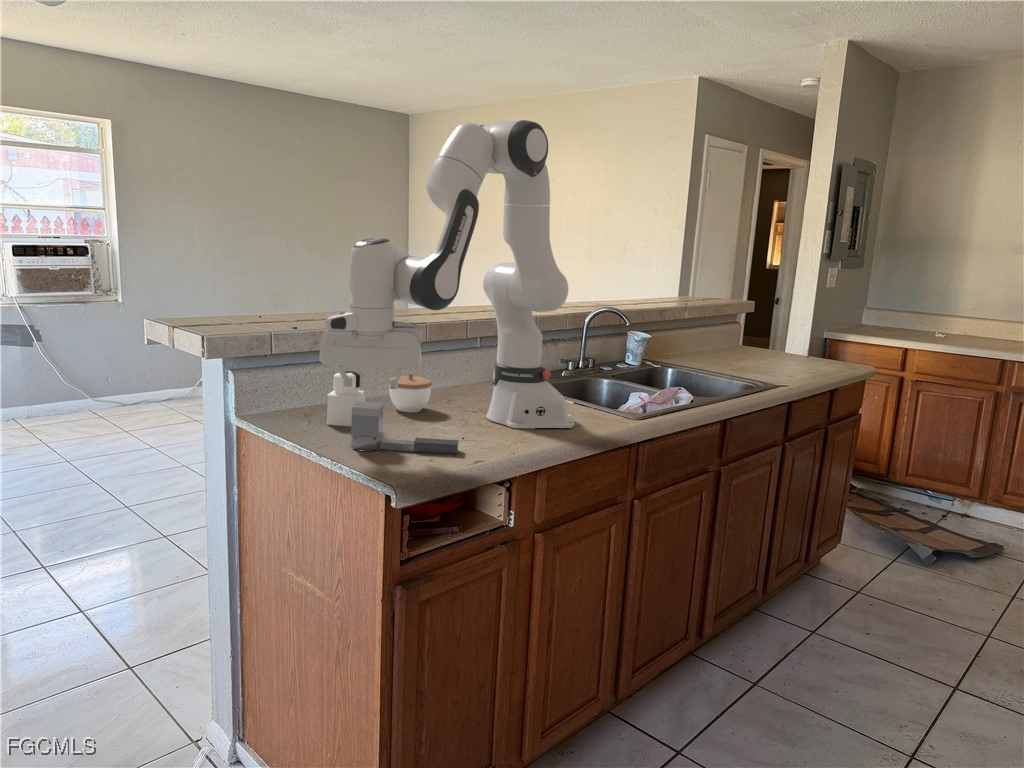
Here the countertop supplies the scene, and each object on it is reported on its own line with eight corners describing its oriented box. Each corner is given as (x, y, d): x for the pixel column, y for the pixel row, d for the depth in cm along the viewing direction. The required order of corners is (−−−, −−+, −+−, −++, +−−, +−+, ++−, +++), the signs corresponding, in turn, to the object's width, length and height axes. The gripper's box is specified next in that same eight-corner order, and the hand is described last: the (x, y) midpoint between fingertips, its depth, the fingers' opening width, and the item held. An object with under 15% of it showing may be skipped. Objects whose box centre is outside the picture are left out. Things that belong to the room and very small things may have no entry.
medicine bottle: (334, 417, 164) (335, 368, 162) (364, 419, 164) (365, 370, 162) (325, 425, 157) (326, 373, 155) (356, 427, 157) (358, 376, 155)
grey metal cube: (382, 430, 146) (383, 402, 144) (378, 437, 140) (379, 409, 139) (356, 428, 145) (357, 401, 144) (351, 435, 140) (351, 407, 139)
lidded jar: (382, 412, 172) (384, 375, 170) (394, 403, 183) (396, 368, 181) (424, 416, 171) (426, 379, 169) (434, 407, 182) (436, 372, 180)
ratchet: (458, 448, 147) (460, 416, 146) (456, 457, 141) (458, 424, 140) (353, 441, 146) (354, 409, 145) (347, 450, 140) (348, 417, 139)
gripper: (424, 320, 142) (423, 386, 145) (324, 316, 141) (325, 382, 144) (421, 325, 135) (420, 393, 139) (316, 320, 135) (317, 388, 138)
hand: (370, 387), depth 141 cm, fingers open, 8 cm apart
